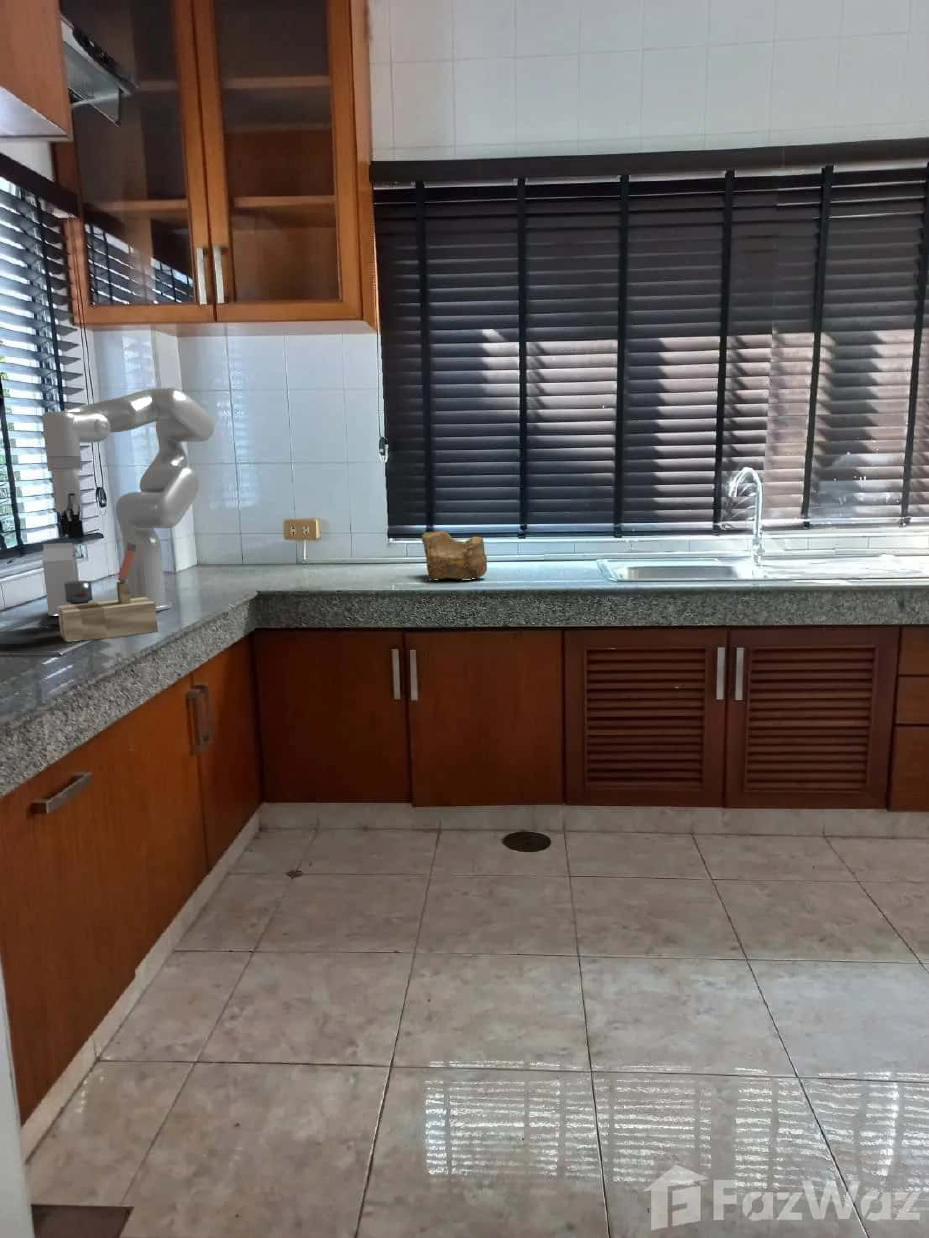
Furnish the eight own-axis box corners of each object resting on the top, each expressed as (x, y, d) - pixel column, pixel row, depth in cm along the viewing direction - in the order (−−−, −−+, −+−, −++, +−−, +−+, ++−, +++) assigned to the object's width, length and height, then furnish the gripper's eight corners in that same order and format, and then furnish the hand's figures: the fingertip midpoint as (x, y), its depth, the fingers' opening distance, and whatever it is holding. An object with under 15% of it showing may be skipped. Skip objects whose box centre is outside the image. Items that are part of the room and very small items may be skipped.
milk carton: (78, 616, 222) (70, 544, 219) (49, 617, 221) (40, 545, 217) (82, 611, 229) (74, 541, 225) (53, 612, 227) (45, 542, 223)
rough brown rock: (403, 583, 273) (401, 537, 269) (430, 571, 287) (429, 528, 282) (465, 590, 262) (464, 543, 257) (490, 578, 275) (490, 533, 271)
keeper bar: (127, 542, 202) (132, 543, 203) (117, 580, 202) (122, 581, 203) (132, 543, 198) (136, 545, 199) (121, 582, 199) (126, 583, 199)
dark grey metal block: (67, 625, 211) (62, 582, 208) (92, 622, 214) (88, 579, 212) (71, 629, 206) (66, 585, 203) (97, 626, 209) (92, 582, 207)
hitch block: (60, 635, 200) (55, 586, 198) (148, 624, 211) (143, 577, 208) (67, 643, 192) (61, 592, 189) (157, 631, 202) (153, 583, 200)
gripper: (42, 464, 206) (50, 534, 210) (53, 465, 192) (61, 540, 196) (75, 463, 210) (82, 532, 214) (88, 464, 196) (96, 538, 200)
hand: (72, 536), depth 205 cm, fingers open, 9 cm apart
